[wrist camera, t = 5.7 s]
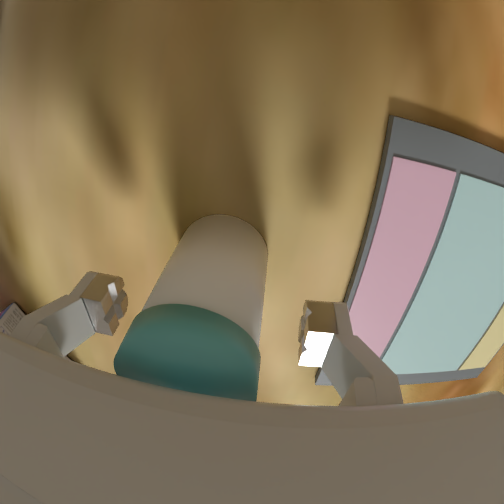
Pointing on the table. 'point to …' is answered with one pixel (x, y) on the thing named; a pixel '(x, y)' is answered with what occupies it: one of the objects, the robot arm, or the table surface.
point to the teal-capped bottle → (203, 314)
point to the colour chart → (431, 257)
